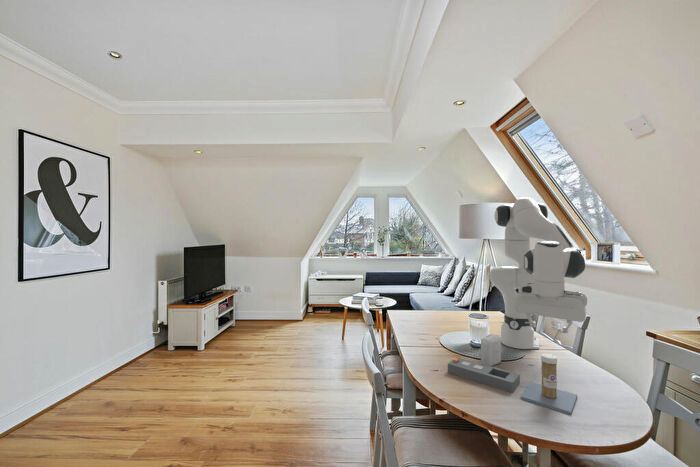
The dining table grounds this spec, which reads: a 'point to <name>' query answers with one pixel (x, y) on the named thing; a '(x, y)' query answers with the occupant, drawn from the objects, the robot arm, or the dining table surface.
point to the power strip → (484, 374)
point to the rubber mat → (560, 403)
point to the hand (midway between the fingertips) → (548, 329)
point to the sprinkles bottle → (549, 375)
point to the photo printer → (491, 350)
